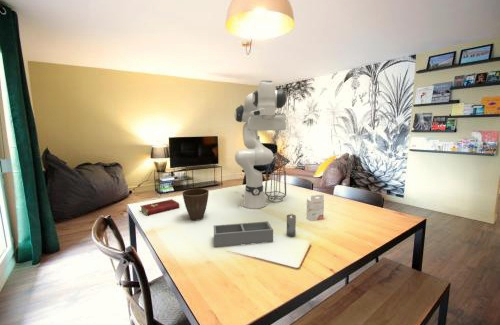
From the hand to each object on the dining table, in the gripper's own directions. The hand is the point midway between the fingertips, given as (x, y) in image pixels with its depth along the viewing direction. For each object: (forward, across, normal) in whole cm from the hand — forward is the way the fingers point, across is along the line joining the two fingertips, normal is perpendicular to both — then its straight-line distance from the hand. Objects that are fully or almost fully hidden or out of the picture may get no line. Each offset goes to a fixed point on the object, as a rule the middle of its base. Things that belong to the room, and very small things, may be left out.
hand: (266, 139), depth 123 cm
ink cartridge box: (+47, -29, -2) cm, 55 cm away
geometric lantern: (+46, -17, -41) cm, 65 cm away
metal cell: (+47, -8, +16) cm, 50 cm away
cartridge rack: (+47, +16, +16) cm, 52 cm away
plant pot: (+47, +39, -16) cm, 63 cm away
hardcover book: (+47, +63, -36) cm, 86 cm away
